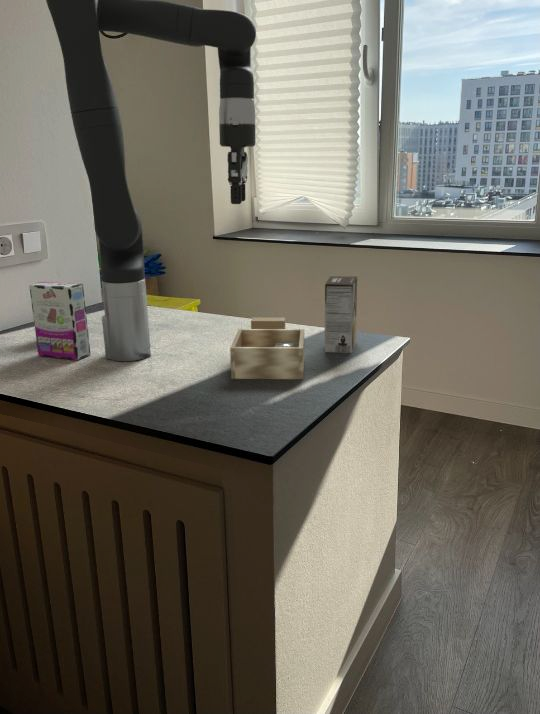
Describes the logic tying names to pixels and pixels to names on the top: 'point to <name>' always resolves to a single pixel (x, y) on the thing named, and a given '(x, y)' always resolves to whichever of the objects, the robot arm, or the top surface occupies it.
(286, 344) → the silver metal ball
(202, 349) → the top surface
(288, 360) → the birch box
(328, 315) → the coffee box
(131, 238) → the robot arm
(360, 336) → the top surface
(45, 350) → the candy bar box
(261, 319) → the lid
